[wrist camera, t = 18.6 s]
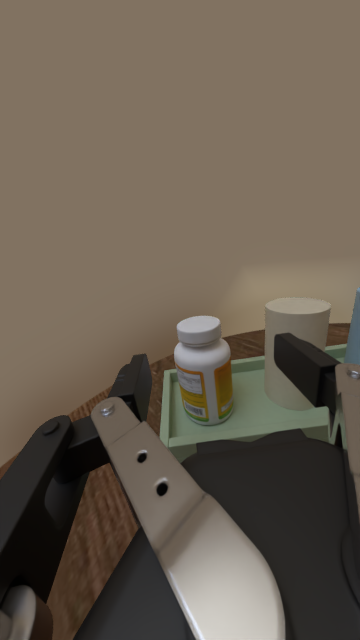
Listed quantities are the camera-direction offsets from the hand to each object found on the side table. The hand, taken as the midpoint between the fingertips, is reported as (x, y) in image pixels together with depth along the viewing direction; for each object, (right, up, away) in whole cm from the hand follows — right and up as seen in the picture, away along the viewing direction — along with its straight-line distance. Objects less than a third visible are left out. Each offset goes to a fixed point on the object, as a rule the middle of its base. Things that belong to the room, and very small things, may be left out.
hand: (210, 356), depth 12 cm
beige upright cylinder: (+10, -6, +9) cm, 14 cm away
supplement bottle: (+1, -7, +9) cm, 11 cm away
